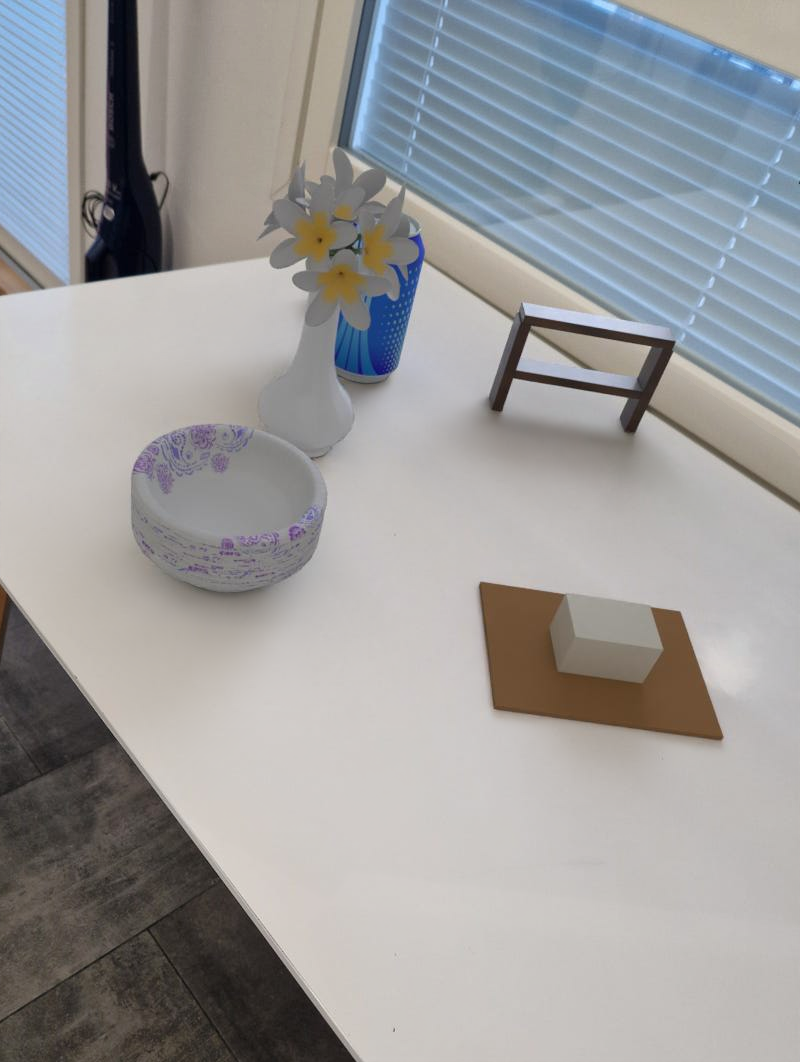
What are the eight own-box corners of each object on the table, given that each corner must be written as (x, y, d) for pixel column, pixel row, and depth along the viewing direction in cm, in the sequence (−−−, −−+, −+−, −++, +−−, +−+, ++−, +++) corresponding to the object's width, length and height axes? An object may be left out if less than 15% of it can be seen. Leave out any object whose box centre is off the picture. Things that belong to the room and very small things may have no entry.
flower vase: (257, 504, 80) (295, 219, 62) (227, 392, 92) (251, 126, 74) (394, 502, 84) (467, 232, 66) (348, 394, 96) (399, 141, 78)
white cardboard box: (630, 639, 75) (649, 604, 72) (642, 683, 71) (663, 649, 68) (548, 627, 74) (565, 592, 71) (557, 671, 71) (575, 636, 68)
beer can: (341, 339, 104) (367, 196, 93) (407, 365, 102) (442, 222, 91) (309, 368, 98) (333, 219, 87) (378, 395, 96) (412, 247, 85)
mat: (678, 614, 79) (680, 611, 78) (721, 740, 69) (724, 737, 69) (479, 584, 77) (480, 581, 77) (494, 709, 67) (495, 705, 67)
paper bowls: (252, 647, 68) (264, 570, 62) (91, 563, 72) (88, 482, 66) (345, 546, 78) (362, 471, 72) (199, 476, 82) (205, 399, 76)
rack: (629, 418, 102) (671, 328, 94) (634, 433, 100) (678, 341, 92) (489, 395, 100) (519, 301, 93) (491, 409, 98) (523, 314, 90)
